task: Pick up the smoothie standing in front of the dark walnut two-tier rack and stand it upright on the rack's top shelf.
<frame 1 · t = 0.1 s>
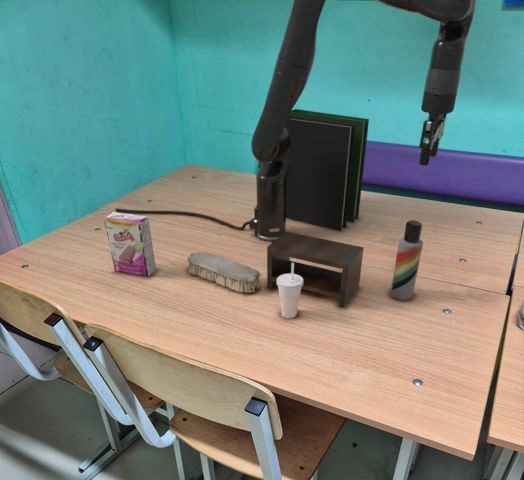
hand: (427, 160, 126), 29 cm above the table, tool pointing down, fingers open, 8 cm apart
smoothie: (289, 314, 122), on the table
binder: (314, 217, 173), on the table
lotion bottle: (401, 295, 129), on the table
candy bar box: (135, 272, 142), on the table
shoe brush: (222, 280, 137), on the table
rack: (312, 288, 132), on the table
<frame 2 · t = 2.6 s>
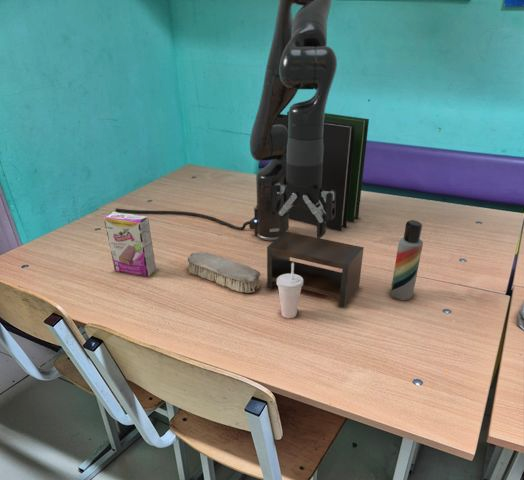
hand: (302, 233, 111), 21 cm above the table, tool pointing down, fingers open, 8 cm apart
nothing on the table moved.
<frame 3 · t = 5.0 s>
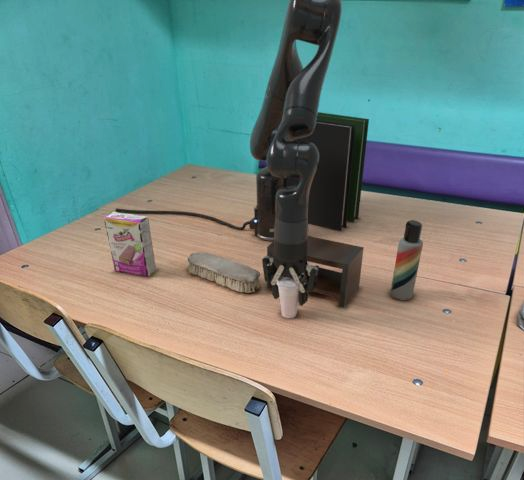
hand: (289, 300, 120), 4 cm above the table, tool pointing down, fingers closed on smoothie, 6 cm apart
smoothie: (289, 314, 122), on the table, touching gripper
everything else where it was.
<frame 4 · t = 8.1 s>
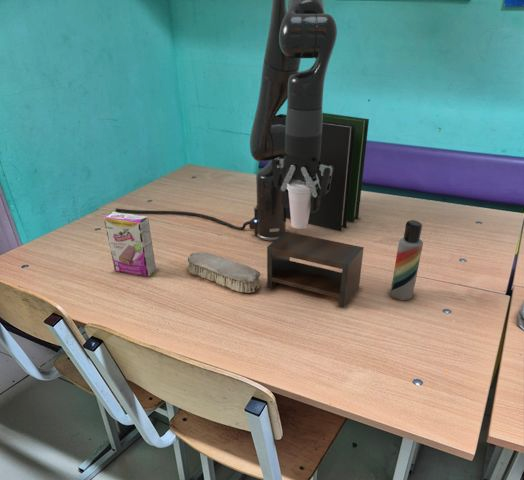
hand: (300, 208, 112), 25 cm above the table, tool pointing down, fingers closed on smoothie, 6 cm apart
smoothie: (299, 226, 114), point 21 cm above the table, touching gripper
everything else where it was.
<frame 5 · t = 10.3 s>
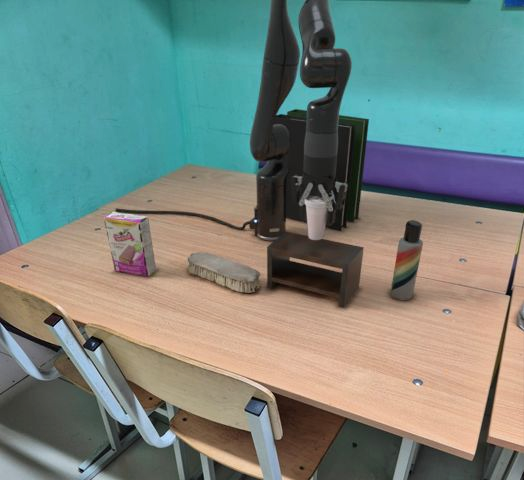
hand: (316, 222, 121), 19 cm above the table, tool pointing down, fingers closed on smoothie, 6 cm apart
smoothie: (315, 237, 124), point 14 cm above the table, touching gripper
everything else where it was.
when the fingers open (16 cm above the table, at t = 11.7 s): smoothie stays where it is, resting on rack.
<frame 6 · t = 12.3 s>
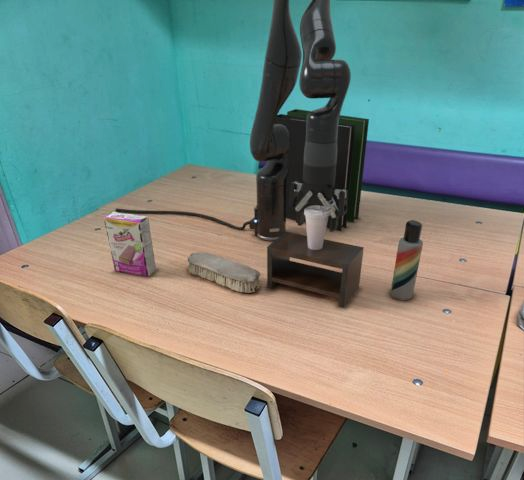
hand: (316, 227, 122), 17 cm above the table, tool pointing down, fingers open, 8 cm apart
smoothie: (315, 247, 126), point 12 cm above the table, touching rack
everything else where it was.
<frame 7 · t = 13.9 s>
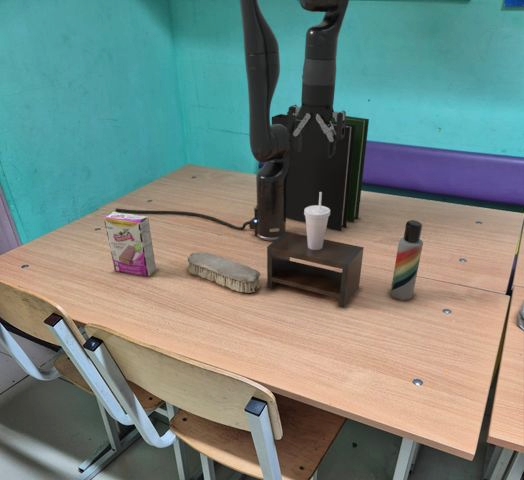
hand: (313, 154, 122), 32 cm above the table, tool pointing down, fingers open, 8 cm apart
nothing on the table moved.
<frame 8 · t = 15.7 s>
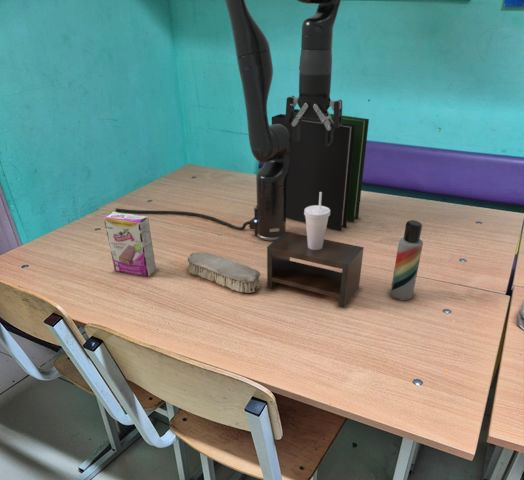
hand: (312, 143, 125), 33 cm above the table, tool pointing down, fingers open, 8 cm apart
nothing on the table moved.
at the end: smoothie inside the target area on the rack (0.1 cm from its centre), point 11.8 cm above the rack's base; smoothie tilted 0°; the gripper is holding nothing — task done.
